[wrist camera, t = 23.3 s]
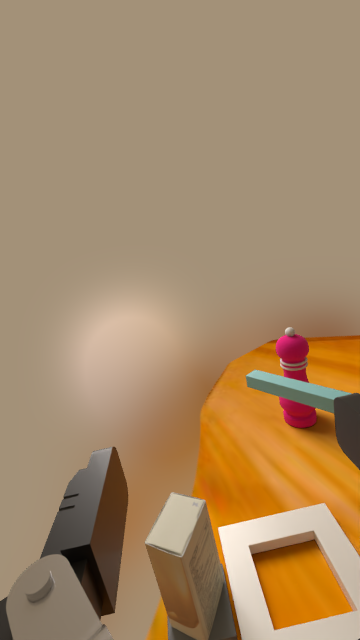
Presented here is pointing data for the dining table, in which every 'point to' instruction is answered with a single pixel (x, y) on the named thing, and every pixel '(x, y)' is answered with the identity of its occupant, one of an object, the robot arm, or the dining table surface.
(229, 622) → the coaster
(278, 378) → the swing bar
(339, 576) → the holder
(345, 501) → the dining table surface
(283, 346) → the pepper mill
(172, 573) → the skincare box
